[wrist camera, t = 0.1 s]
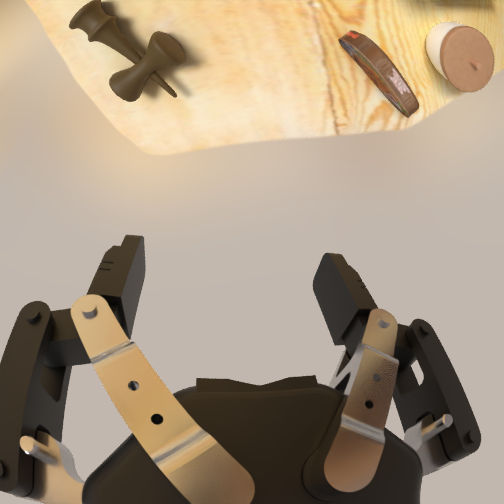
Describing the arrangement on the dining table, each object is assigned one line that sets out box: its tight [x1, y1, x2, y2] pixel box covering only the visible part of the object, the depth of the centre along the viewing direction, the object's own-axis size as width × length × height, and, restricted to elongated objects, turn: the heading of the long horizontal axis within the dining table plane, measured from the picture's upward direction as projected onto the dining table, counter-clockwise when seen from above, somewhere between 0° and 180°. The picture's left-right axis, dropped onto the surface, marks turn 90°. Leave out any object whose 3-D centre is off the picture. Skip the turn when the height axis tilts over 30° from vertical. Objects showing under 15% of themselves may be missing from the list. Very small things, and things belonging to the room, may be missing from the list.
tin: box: [338, 31, 419, 118], centre depth 27 cm, size 15×3×8 cm, turn 50°
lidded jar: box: [426, 21, 494, 92], centre depth 20 cm, size 11×11×9 cm
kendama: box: [69, 0, 186, 102], centre depth 24 cm, size 6×10×20 cm
